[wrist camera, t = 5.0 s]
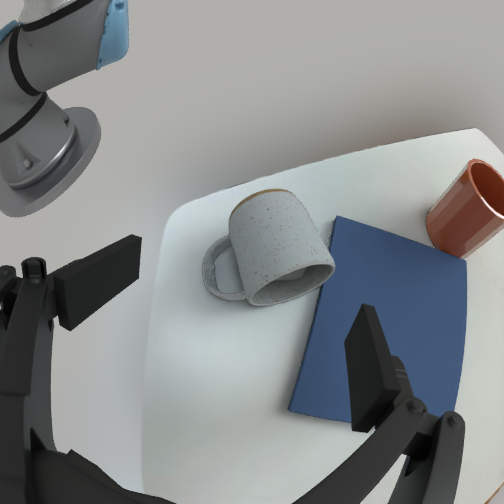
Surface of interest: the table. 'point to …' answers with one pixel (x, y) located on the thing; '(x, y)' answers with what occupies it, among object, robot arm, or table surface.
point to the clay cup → (468, 210)
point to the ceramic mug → (272, 250)
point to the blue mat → (386, 318)
